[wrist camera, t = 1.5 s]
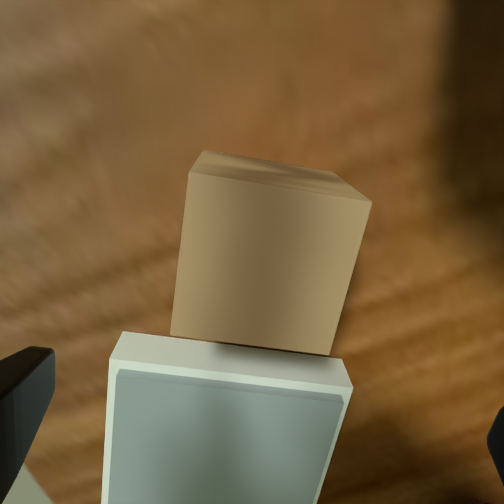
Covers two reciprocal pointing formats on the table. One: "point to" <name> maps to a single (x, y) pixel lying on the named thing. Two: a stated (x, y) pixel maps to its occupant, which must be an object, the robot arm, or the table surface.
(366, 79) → the table surface
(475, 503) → the maroon toy figure
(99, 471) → the table surface
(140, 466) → the pedestal
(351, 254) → the oak cube
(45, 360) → the robot arm
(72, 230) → the table surface
